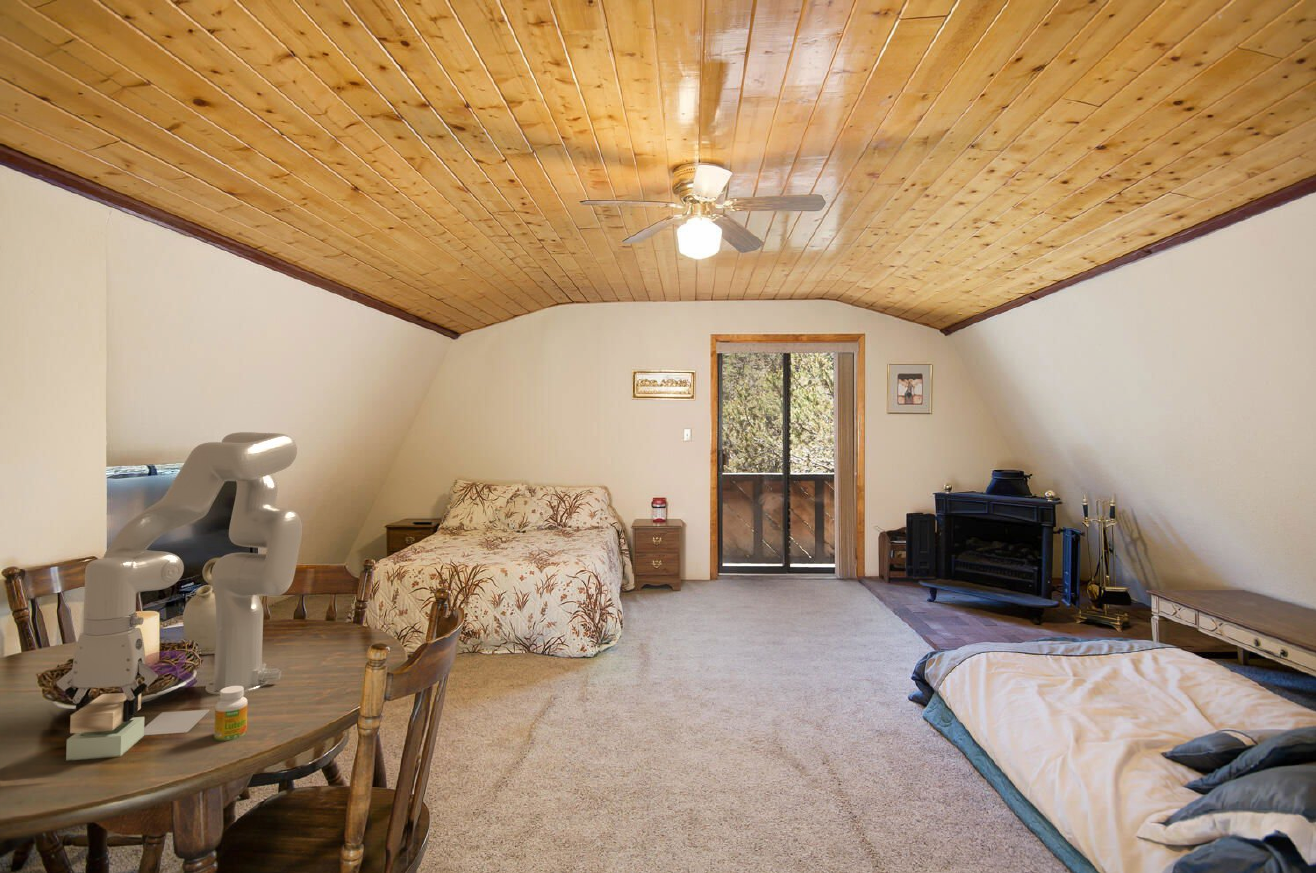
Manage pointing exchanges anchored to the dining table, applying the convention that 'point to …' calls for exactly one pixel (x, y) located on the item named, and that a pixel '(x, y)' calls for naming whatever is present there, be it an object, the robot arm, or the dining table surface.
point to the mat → (174, 722)
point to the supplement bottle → (231, 714)
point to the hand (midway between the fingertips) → (107, 719)
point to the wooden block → (100, 714)
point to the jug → (202, 614)
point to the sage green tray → (105, 741)
